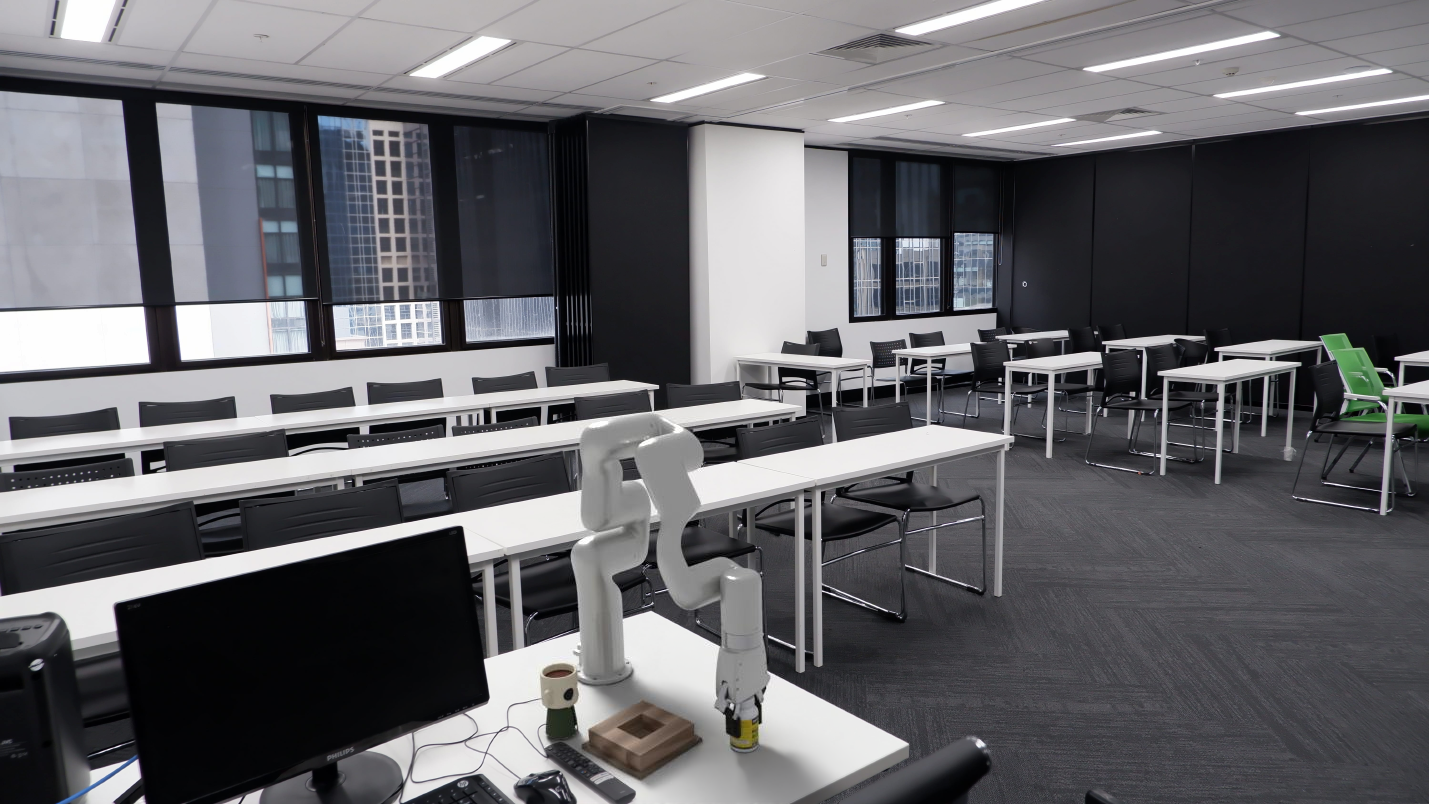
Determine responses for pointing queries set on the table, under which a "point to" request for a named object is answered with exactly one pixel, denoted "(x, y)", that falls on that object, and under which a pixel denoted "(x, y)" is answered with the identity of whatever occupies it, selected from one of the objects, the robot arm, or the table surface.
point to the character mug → (560, 698)
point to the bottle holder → (641, 739)
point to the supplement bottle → (747, 727)
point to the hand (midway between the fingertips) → (744, 727)
